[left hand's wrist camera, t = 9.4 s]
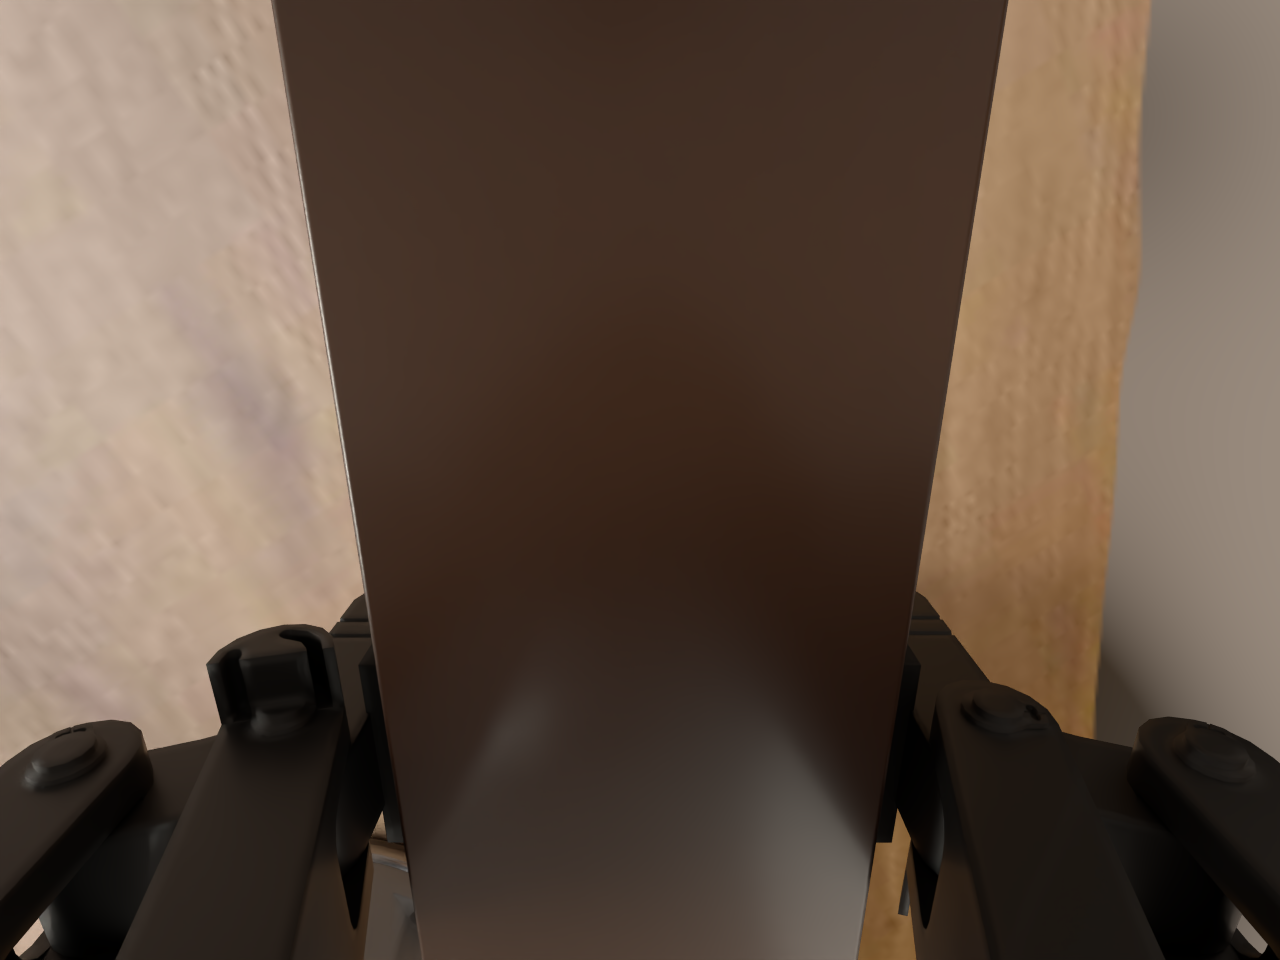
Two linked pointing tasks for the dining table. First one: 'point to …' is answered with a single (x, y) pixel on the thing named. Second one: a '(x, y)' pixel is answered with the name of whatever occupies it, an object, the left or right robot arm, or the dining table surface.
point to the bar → (639, 438)
